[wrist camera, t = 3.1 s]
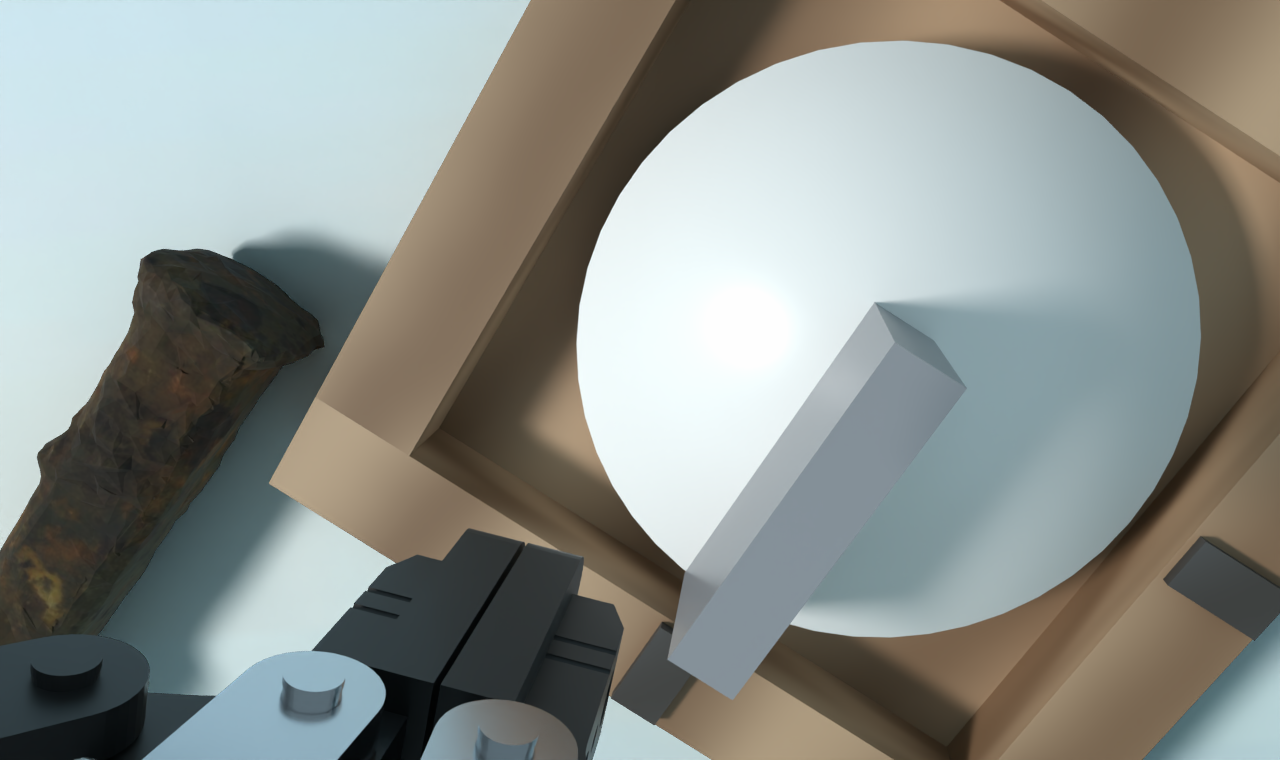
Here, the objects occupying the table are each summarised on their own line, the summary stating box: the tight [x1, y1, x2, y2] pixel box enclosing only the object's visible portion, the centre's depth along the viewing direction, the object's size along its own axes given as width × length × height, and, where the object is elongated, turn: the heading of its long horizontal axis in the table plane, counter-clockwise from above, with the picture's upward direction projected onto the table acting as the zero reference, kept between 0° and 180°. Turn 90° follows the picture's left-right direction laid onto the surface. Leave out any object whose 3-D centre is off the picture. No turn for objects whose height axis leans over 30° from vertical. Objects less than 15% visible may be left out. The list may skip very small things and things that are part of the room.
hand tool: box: [0, 249, 325, 646], centre depth 27 cm, size 19×4×5 cm, turn 141°
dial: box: [576, 41, 1201, 700], centre depth 21 cm, size 13×13×6 cm
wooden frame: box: [269, 0, 1280, 760], centre depth 23 cm, size 20×20×3 cm
